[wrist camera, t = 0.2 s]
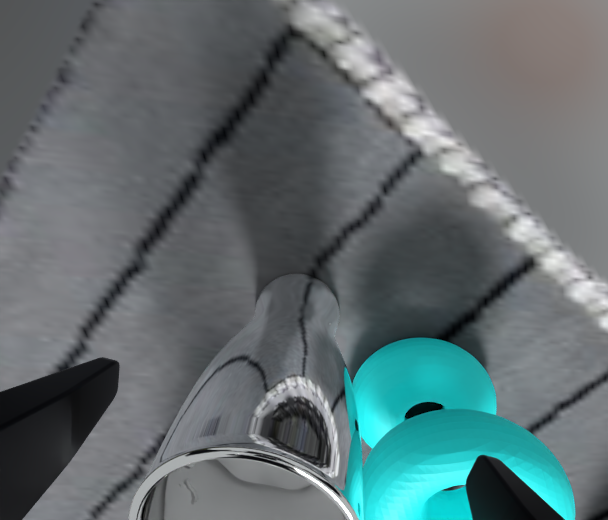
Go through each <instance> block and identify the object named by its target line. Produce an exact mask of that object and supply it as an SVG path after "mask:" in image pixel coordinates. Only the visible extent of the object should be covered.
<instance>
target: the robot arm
mask: <svg viewBox="0 0 608 520" xmlns="http://www.w3.org/2000/svg"><path fill="white" fill-rule="evenodd" d="M118 380H119V363H118V362H117V361H116V360H112V359H108V358H103V357H102V358H97V359H95V360H92V361H89V362H86V363H83V364H80V365H77V366H74V367H71V368H68V369H66V370H63V371H60V372H57V373H54V374H51V375H48V376H45V377H42V378H39V379H37V380H34V381H31V382H28V383H25V384H22V385H19V386H16V387H13V388H10V389H8V390H5V391H2V392H0V520H22V519H23V518H24V517H25V515H26V514H27V513H28V512H29V511H30V509H31V508H32V507H33V506H34V505H35V503H36V502H37V501H38V500H39V499H40V497H41V496H42V495H43V494H44V493H45V491H46V490H47V489H48V488H49V486H50V485H51V484H52V483H53V482H54V480H55V479H56V478H57V477H58V476H59V474H60V473H61V472H62V471H63V470H64V468H65V467H66V466H67V465H68V463H69V462H70V461H71V459H72V458H73V457H74V455H75V454H76V453H77V451H78V450H79V448H80V447H81V445H82V444H83V443H84V441H85V440H86V438H87V437H88V435H89V434H90V432H91V431H92V430H93V428H94V427H95V425H96V424H97V422H98V421H99V419H100V418H101V417H102V415H103V414H104V412H105V411H106V409H107V408H108V406H109V405H110V404H111V402H112V401H113V399H114V397H115V395H116V393H117V390H118ZM466 492H467V497H468V501H469V506H470V510H471V514H472V519H473V520H565V519H564V518H563V517H562V516H561V515H559V514H558V513H557V512H556V511H555V510H554V509H553V508H552V507H551V506H550V505H549V504H547V503H546V502H545V501H544V500H543V499H542V498H541V497H540V496H539V495H538V494H537V493H536V492H534V491H533V490H532V489H531V488H530V487H529V486H528V485H527V484H526V483H525V482H524V481H522V480H521V479H520V478H519V477H518V476H517V475H516V474H515V473H514V472H513V471H512V470H511V469H509V468H508V467H507V466H506V465H505V464H504V463H503V462H502V461H501V460H499V459H497V458H494V457H491V456H487V455H480V456H478V457H477V459H476V461H475V463H474V465H473V467H472V469H471V471H470V473H469V475H468V477H467V479H466Z"/></svg>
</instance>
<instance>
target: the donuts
mask: <svg viewBox="0 0 608 520" xmlns="http://www.w3.org/2000/svg"><path fill="white" fill-rule="evenodd" d="M352 386H353V389H354V393H355V398H356V404H357V410H358V416H359V423H360V434H361V437H362V438H363V439H364V440H365V442H366V443H367V444H368V445H369V446H370V447H371V448H372V450H371V452H370V454H369V455H368V457H367V459H366V462H365V464H364V466H363V511H364V520H473V519H472V514H471V510H470V506H469V501H468V497H467V492H466V485H465V486H464V487H462V488H459V489H456V490H451V491H441V490H443V489H446V488H449V487H452V486H456V485H463V484H466V479H467V477H468V475H469V473H470V471H471V469H472V467H473V465H474V463H475V461H476V459H477V457H478V456H480V455H487V456H491V457H494V458H497V459H499V460H501V461H502V462H503V463H504V464H505V465H506V466H507V467H508V468H509V469H511V470H512V471H513V472H514V473H515V474H516V475H517V476H518V477H519V478H520V479H521V480H522V481H524V482H525V483H526V484H527V485H528V486H529V487H530V488H531V489H532V490H533V491H534V492H536V493H537V494H538V495H539V496H540V497H541V498H542V499H543V500H544V501H545V502H546V503H547V504H549V505H550V506H551V507H552V508H553V509H554V510H555V511H556V512H557V513H558V514H559V515H561V516H562V517H563V518H564V519H565V520H575V503H574V497H573V491H572V488H571V485H570V482H569V480H568V478H567V476H566V473H565V471H564V469H563V468H562V466H561V464H560V463H559V461H558V460H557V459H556V457H555V456H554V455H553V453H552V452H551V451H550V450H549V449H548V448H547V447H546V446H545V445H544V444H543V443H542V442H541V441H540V440H539V439H538V438H536V437H535V436H534V435H533V434H531V433H530V432H529V431H527V430H526V429H524V428H522V427H521V426H519V425H517V424H515V423H513V422H511V421H509V420H507V419H505V418H502V417H500V416H497V415H496V408H497V404H496V394H495V389H494V386H493V384H492V381H491V379H490V377H489V375H488V373H487V372H486V370H485V369H484V367H483V366H482V365H481V364H480V363H479V361H478V360H477V359H476V358H474V357H473V356H472V355H471V354H470V353H468V352H467V351H465V350H464V349H462V348H460V347H458V346H456V345H454V344H452V343H449V342H447V341H443V340H439V339H434V338H408V339H403V340H399V341H396V342H393V343H390V344H388V345H386V346H384V347H382V348H381V349H379V350H377V351H376V352H375V353H373V354H372V355H371V356H370V357H369V358H368V359H367V360H366V361H365V362H364V363H363V364H362V366H361V367H360V368H359V370H358V372H357V373H356V376H355V378H354V380H353V383H352ZM423 402H435V403H439V404H441V405H442V406H443V408H442V409H441V410H435V411H430V412H426V413H423V414H420V415H417V416H414V417H412V418H409V419H408V418H405V414H406V413H407V411H408V410H409V409H410V408H411V407H413V406H414V405H416V404H419V403H423Z"/></svg>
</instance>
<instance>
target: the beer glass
mask: <svg viewBox="0 0 608 520" xmlns="http://www.w3.org/2000/svg"><path fill="white" fill-rule="evenodd" d="M339 317H340V312H339V305H338V302H337V299H336V297H335V295H334V294H333V292H332V291H331V290H330V288H329V287H328V286H327V285H325V284H324V283H323V282H322V281H320V280H318V279H317V278H315V277H312V276H309V275H305V274H287V275H284V276H281V277H278V278H276V279H274V280H273V281H271V282H270V283H269V284H268V285H267V286H266V287H265V288H264V289H263V290H262V292H261V293H260V295H259V298H258V300H257V303H256V308H255V317H254V318H253V319H252V320H251V321H250V322H249V323H248V324H247V325H246V326H245V327H244V328H242V329H241V330H240V331H239V332H238V333H237V334H236V335H235V336H234V337H233V338H232V339H231V340H230V341H229V342H228V343H227V344H226V345H225V346H224V347H223V348H222V349H221V350H220V351H219V353H218V354H217V355H216V356H215V357H214V358H213V359H212V361H211V362H210V363H209V365H208V366H207V368H206V369H205V370H204V372H203V373H202V375H201V376H200V378H199V379H198V380H197V382H196V383H195V385H194V387H193V388H192V390H191V392H190V393H189V395H188V397H187V398H186V400H185V402H184V404H183V405H182V407H181V409H180V410H179V412H178V414H177V416H176V418H175V420H174V422H173V424H172V426H171V428H170V429H169V431H168V433H167V435H166V437H165V439H164V441H163V443H162V445H161V447H160V449H159V451H158V453H157V455H156V457H155V459H154V461H153V463H152V465H151V467H150V469H149V471H148V473H147V475H146V477H145V478H144V480H143V481H142V483H141V484H140V486H139V487H138V489H137V491H136V493H135V495H134V497H133V500H132V502H131V506H130V510H129V518H128V520H364V511H363V464H362V446H361V434H360V423H359V416H358V410H357V404H356V398H355V393H354V389H353V386H352V383H351V379H350V376H349V372H348V369H347V366H346V364H345V361H344V359H343V356H342V354H341V351H340V349H339V346H338V344H337V341H336V339H335V334H336V331H337V328H338V324H339Z"/></svg>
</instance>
